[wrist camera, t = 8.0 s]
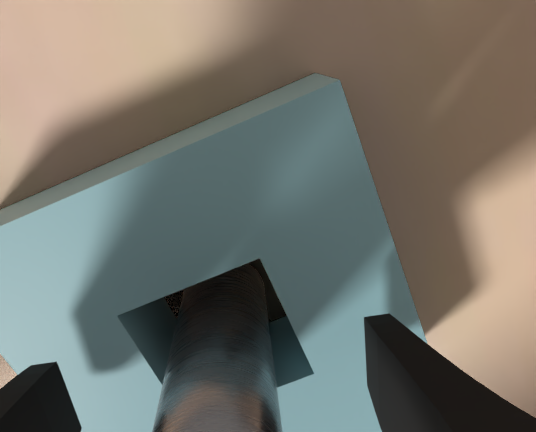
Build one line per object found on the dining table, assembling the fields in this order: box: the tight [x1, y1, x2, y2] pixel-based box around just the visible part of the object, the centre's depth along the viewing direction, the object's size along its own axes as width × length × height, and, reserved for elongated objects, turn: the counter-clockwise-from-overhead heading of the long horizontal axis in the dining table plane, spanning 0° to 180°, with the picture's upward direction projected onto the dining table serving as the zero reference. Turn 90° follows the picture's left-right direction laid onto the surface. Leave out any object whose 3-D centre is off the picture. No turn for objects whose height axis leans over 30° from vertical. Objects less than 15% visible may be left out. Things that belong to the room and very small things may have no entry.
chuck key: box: [152, 263, 282, 432], centre depth 9 cm, size 3×3×10 cm
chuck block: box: [0, 73, 427, 432], centre depth 12 cm, size 10×10×3 cm
